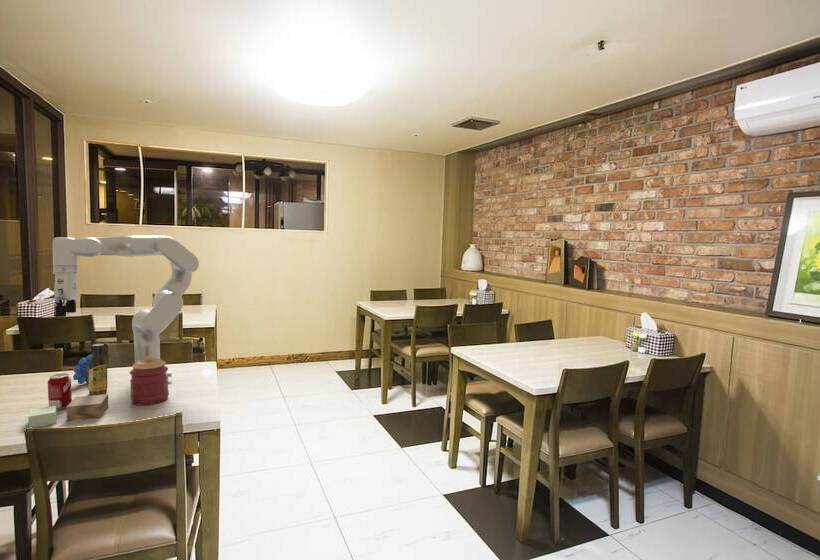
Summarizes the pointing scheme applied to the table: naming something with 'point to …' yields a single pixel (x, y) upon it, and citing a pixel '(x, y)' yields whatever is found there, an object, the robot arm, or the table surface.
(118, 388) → the table surface
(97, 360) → the sauce bottle
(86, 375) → the grapes
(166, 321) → the robot arm
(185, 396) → the table surface
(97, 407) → the walnut block
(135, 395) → the canister
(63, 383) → the soda can
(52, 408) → the green block
